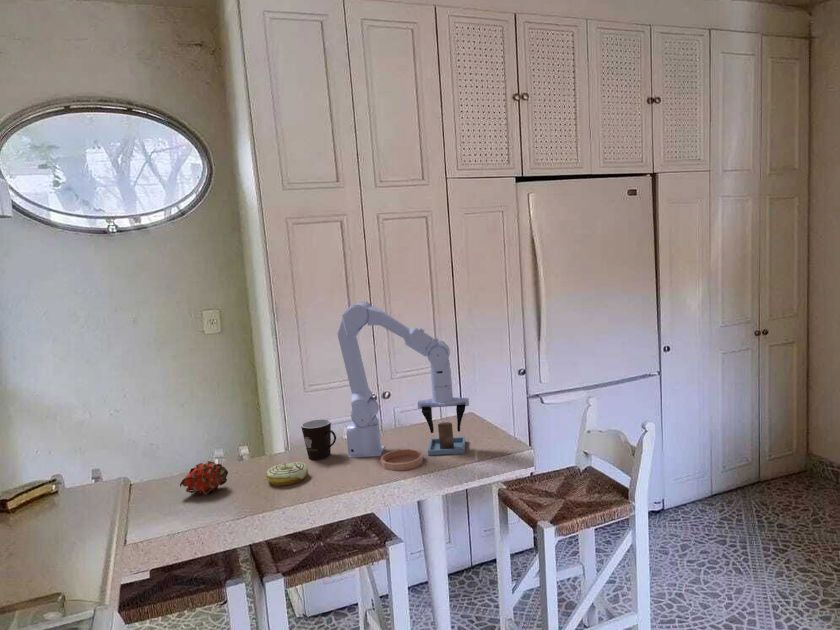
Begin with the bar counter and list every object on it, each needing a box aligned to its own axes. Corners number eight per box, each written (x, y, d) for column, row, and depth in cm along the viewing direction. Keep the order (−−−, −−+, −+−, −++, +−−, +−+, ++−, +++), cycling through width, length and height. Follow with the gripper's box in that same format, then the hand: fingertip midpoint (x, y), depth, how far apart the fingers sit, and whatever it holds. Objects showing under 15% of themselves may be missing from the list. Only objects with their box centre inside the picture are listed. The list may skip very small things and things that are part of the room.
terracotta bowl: (378, 472, 153) (377, 465, 152) (384, 457, 164) (384, 450, 164) (421, 470, 151) (420, 463, 151) (424, 454, 163) (424, 448, 163)
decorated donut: (311, 482, 151) (309, 468, 150) (269, 491, 147) (267, 477, 147) (305, 469, 160) (303, 456, 160) (265, 477, 157) (264, 464, 156)
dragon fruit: (234, 493, 152) (187, 509, 148) (228, 467, 157) (183, 482, 154) (227, 475, 146) (178, 492, 142) (222, 449, 151) (174, 464, 148)
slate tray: (428, 457, 161) (427, 450, 161) (431, 444, 171) (430, 438, 171) (464, 455, 160) (464, 448, 160) (465, 442, 170) (464, 436, 170)
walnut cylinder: (439, 450, 163) (437, 426, 163) (441, 445, 167) (439, 422, 167) (453, 450, 163) (451, 426, 162) (454, 445, 167) (452, 421, 166)
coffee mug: (301, 455, 172) (298, 423, 171) (329, 449, 175) (326, 417, 174) (311, 467, 161) (307, 432, 160) (341, 460, 165) (337, 426, 164)
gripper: (415, 389, 160) (419, 437, 162) (467, 386, 159) (470, 434, 160) (417, 383, 167) (421, 429, 169) (467, 380, 166) (470, 426, 167)
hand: (445, 431), depth 165 cm, fingers open, 7 cm apart
